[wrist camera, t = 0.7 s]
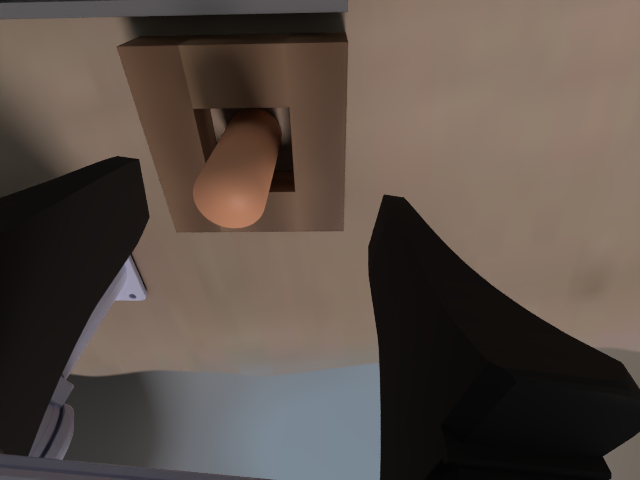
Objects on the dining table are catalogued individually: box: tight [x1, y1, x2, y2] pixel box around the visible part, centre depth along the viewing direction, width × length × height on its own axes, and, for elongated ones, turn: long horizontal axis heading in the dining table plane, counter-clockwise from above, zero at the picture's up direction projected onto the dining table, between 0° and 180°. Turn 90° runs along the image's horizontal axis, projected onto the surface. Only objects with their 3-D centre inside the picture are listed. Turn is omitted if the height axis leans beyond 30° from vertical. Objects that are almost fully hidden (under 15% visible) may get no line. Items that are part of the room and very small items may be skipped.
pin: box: [193, 108, 282, 228], centre depth 18 cm, size 3×3×7 cm
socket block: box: [117, 32, 348, 232], centre depth 20 cm, size 10×10×2 cm
